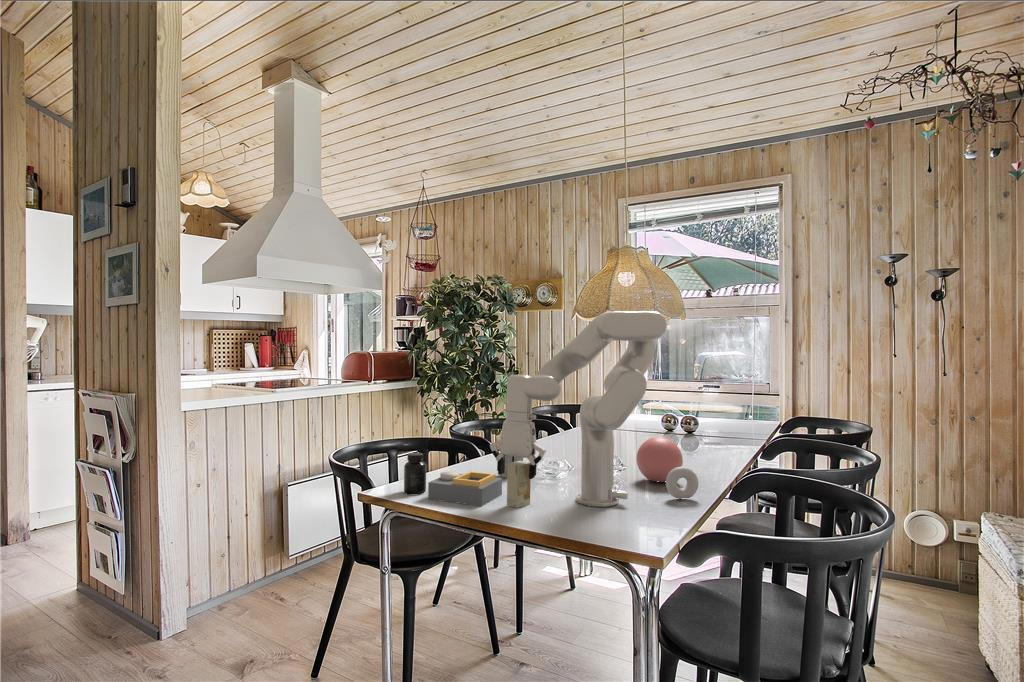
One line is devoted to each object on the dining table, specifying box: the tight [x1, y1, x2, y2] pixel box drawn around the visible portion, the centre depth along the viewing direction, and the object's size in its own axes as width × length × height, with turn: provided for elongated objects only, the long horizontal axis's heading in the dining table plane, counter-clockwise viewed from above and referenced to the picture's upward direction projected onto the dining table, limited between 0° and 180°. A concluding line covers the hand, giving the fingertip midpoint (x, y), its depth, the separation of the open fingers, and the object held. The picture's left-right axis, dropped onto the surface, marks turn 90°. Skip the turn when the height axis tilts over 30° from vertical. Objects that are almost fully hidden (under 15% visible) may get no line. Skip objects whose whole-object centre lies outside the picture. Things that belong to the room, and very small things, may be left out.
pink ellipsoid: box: [636, 436, 684, 483], centre depth 189 cm, size 15×20×15 cm
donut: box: [665, 466, 699, 499], centre depth 165 cm, size 10×4×10 cm, turn 94°
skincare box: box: [506, 460, 531, 509], centre depth 158 cm, size 6×4×12 cm
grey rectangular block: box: [427, 470, 503, 507], centre depth 166 cm, size 18×14×6 cm
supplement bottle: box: [403, 452, 427, 495], centre depth 171 cm, size 7×7×12 cm
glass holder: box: [499, 455, 524, 479], centre depth 192 cm, size 9×14×15 cm, turn 159°
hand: (516, 476), depth 158 cm, fingers open, 9 cm apart
